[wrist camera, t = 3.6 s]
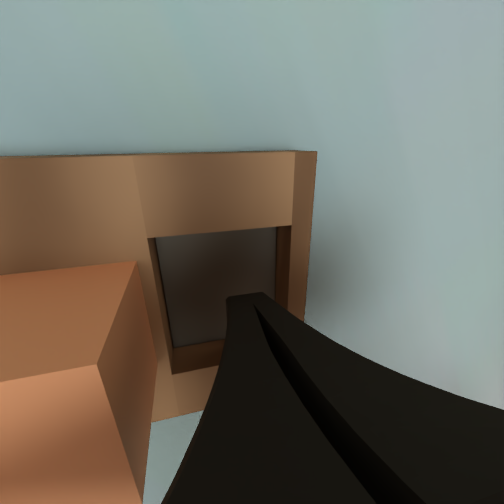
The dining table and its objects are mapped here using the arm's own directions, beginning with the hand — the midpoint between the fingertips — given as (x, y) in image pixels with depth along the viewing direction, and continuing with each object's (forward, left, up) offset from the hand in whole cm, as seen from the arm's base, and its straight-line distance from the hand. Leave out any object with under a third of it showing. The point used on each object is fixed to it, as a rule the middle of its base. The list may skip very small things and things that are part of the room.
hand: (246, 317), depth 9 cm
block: (+6, 0, -1) cm, 6 cm away
